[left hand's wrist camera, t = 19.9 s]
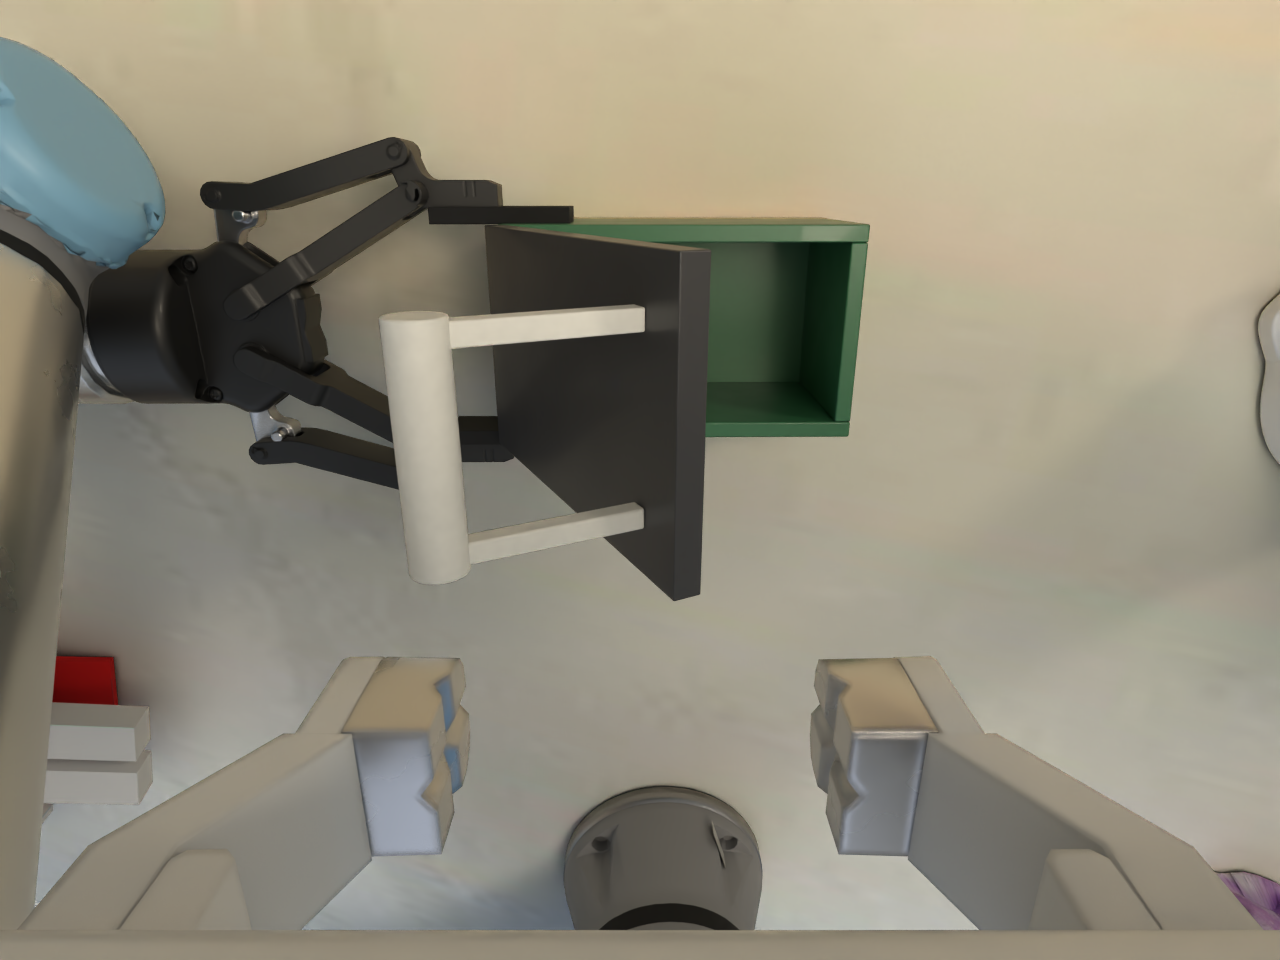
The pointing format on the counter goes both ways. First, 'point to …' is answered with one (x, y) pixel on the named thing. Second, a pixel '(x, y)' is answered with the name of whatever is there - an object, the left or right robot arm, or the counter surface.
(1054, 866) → the left robot arm
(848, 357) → the chest
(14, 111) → the right robot arm
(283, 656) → the counter surface
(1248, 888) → the figurine
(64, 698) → the toy
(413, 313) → the lid
